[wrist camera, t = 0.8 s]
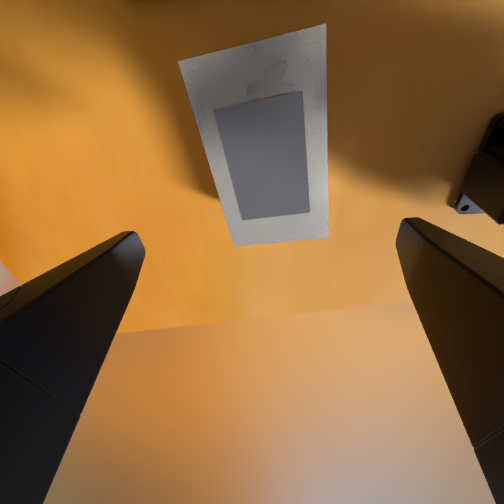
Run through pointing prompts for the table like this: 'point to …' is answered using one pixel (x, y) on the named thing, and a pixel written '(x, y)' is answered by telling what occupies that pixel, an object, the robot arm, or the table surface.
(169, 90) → the table surface
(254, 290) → the table surface
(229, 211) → the block
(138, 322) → the table surface
